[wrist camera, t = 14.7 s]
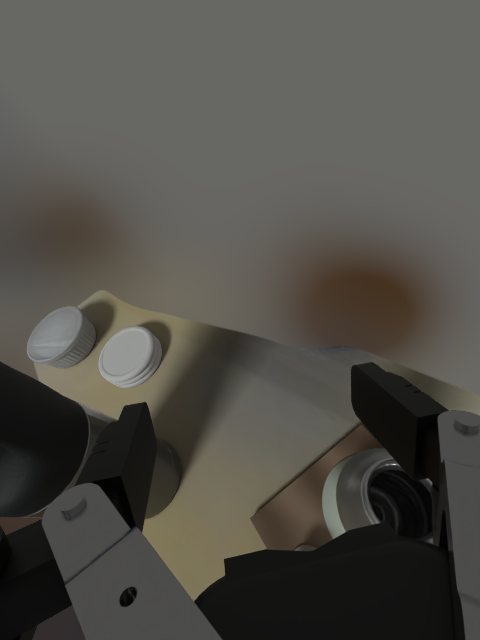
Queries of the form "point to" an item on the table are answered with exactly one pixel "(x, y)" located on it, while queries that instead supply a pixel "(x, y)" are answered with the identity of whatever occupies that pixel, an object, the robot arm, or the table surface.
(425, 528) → the plastic bottle
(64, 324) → the ramekin
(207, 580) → the table surface
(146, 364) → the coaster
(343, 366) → the table surface
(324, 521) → the board
